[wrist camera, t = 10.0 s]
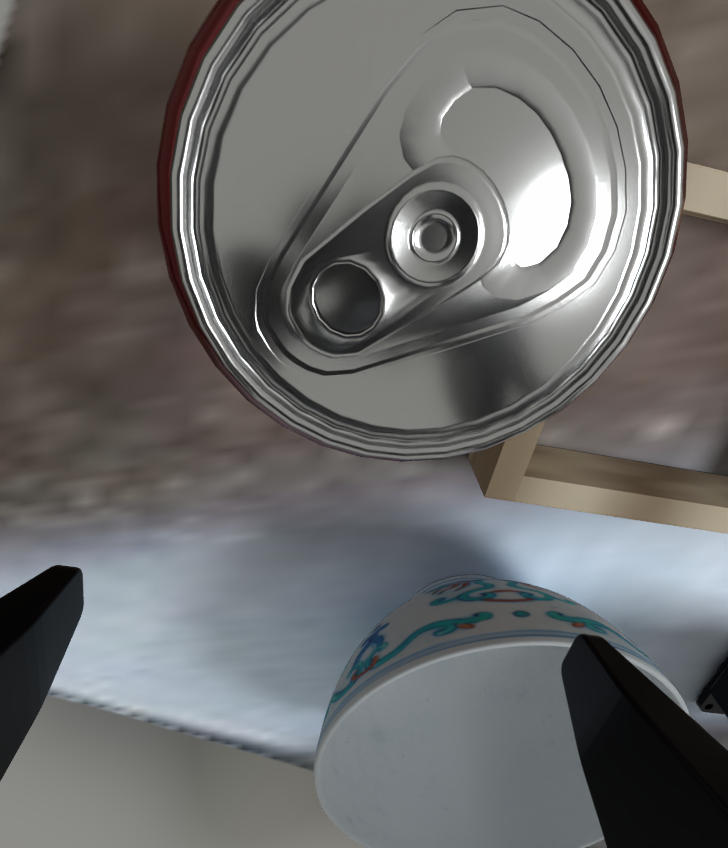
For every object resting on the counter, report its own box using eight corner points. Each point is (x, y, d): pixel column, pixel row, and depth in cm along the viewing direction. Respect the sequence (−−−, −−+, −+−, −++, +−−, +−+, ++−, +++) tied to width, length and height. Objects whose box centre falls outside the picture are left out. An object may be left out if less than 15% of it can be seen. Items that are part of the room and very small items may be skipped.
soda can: (420, 8, 15) (608, -364, 4) (516, 233, 18) (769, 334, 7) (221, 150, 17) (2, 128, 6) (340, 337, 20) (338, 547, 9)
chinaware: (662, 559, 26) (777, 701, 19) (511, 734, 32) (557, 890, 25) (393, 464, 23) (415, 592, 16) (281, 677, 29) (262, 838, 22)
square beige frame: (925, 233, 19) (1020, 244, 17) (751, 503, 25) (802, 544, 22) (572, 147, 18) (613, 144, 15) (467, 458, 23) (484, 497, 20)
